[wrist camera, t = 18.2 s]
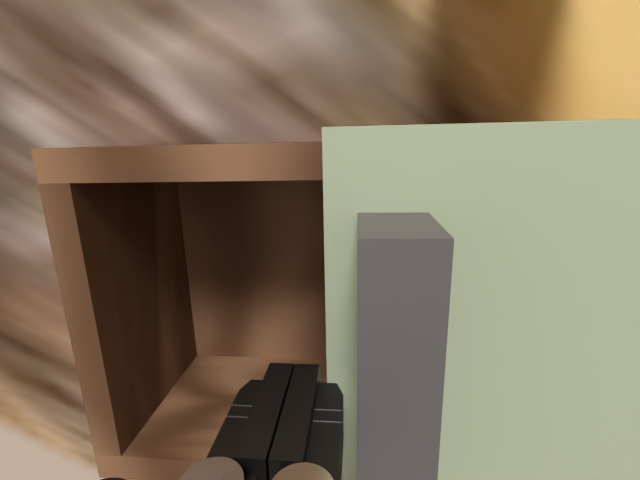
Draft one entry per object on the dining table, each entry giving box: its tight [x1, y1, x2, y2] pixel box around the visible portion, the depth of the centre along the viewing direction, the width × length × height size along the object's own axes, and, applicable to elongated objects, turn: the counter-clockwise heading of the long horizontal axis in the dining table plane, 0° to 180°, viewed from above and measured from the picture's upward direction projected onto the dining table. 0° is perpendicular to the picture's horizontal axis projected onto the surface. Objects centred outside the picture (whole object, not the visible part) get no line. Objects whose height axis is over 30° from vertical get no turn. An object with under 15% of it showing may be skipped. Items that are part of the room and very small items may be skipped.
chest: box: [31, 142, 327, 480], centre depth 18 cm, size 20×14×9 cm
